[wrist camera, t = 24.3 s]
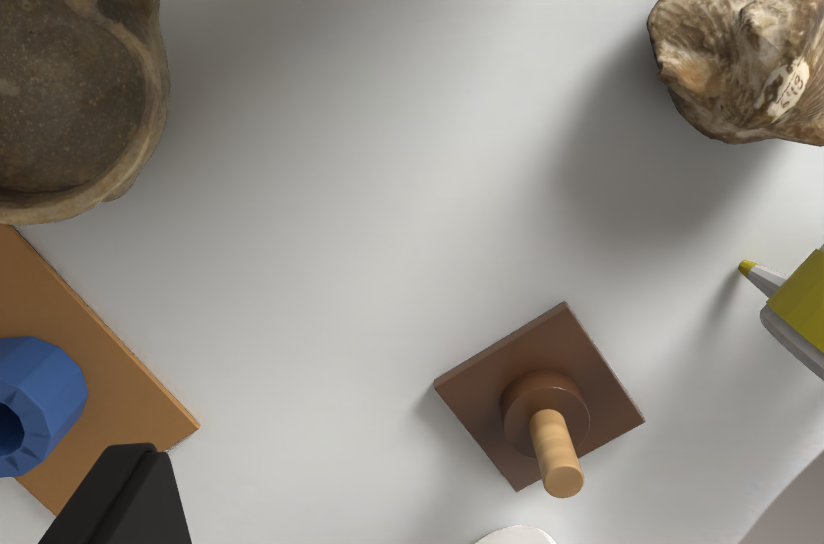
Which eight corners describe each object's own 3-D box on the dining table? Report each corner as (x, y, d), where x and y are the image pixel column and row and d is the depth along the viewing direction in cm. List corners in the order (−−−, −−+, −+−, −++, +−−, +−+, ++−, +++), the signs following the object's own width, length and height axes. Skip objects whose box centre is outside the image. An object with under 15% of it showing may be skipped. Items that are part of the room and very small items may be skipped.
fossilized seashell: (602, 78, 33) (736, 193, 36) (718, 33, 27) (865, 177, 30) (662, -46, 34) (784, 75, 38) (784, -115, 28) (916, 38, 32)
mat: (-137, 332, 41) (-142, 335, 40) (6, 219, 38) (2, 221, 38) (61, 515, 45) (58, 519, 45) (200, 425, 43) (198, 428, 42)
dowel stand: (433, 379, 41) (436, 462, 34) (564, 300, 39) (598, 369, 32) (514, 482, 44) (533, 581, 36) (641, 412, 42) (689, 501, 34)
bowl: (-142, 23, 34) (-350, 30, 25) (127, -203, 31) (1, -292, 22) (51, 245, 39) (-66, 322, 29) (308, 68, 35) (268, 91, 26)
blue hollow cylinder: (-46, 372, 41) (-99, 415, 37) (30, 316, 40) (-16, 353, 35) (34, 448, 43) (-8, 496, 39) (109, 396, 42) (74, 440, 37)
